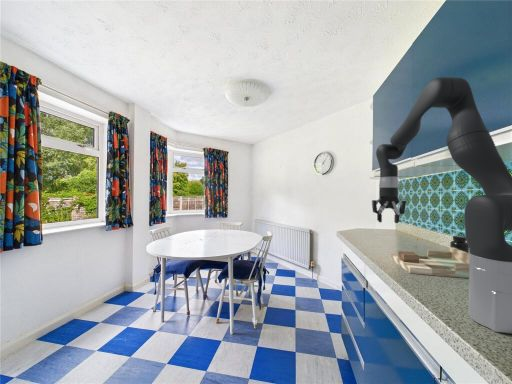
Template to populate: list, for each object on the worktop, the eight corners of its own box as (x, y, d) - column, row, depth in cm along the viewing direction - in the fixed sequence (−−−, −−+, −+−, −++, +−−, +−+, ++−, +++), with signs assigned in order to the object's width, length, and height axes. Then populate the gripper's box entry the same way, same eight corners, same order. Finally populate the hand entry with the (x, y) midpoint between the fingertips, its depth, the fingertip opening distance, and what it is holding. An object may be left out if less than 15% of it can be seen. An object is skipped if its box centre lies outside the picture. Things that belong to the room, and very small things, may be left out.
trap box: (488, 280, 82) (488, 260, 82) (409, 273, 88) (410, 255, 88) (453, 263, 102) (453, 247, 102) (390, 258, 108) (391, 243, 108)
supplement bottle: (473, 262, 103) (473, 238, 103) (458, 262, 103) (459, 237, 103) (459, 258, 110) (460, 235, 110) (446, 258, 110) (446, 234, 110)
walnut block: (418, 263, 94) (419, 255, 94) (403, 262, 95) (403, 254, 95) (412, 258, 99) (412, 251, 99) (397, 257, 101) (398, 250, 101)
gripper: (374, 186, 97) (373, 223, 97) (409, 186, 94) (409, 224, 94) (369, 187, 104) (369, 220, 104) (402, 187, 101) (401, 222, 101)
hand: (388, 222), depth 99 cm, fingers open, 6 cm apart
